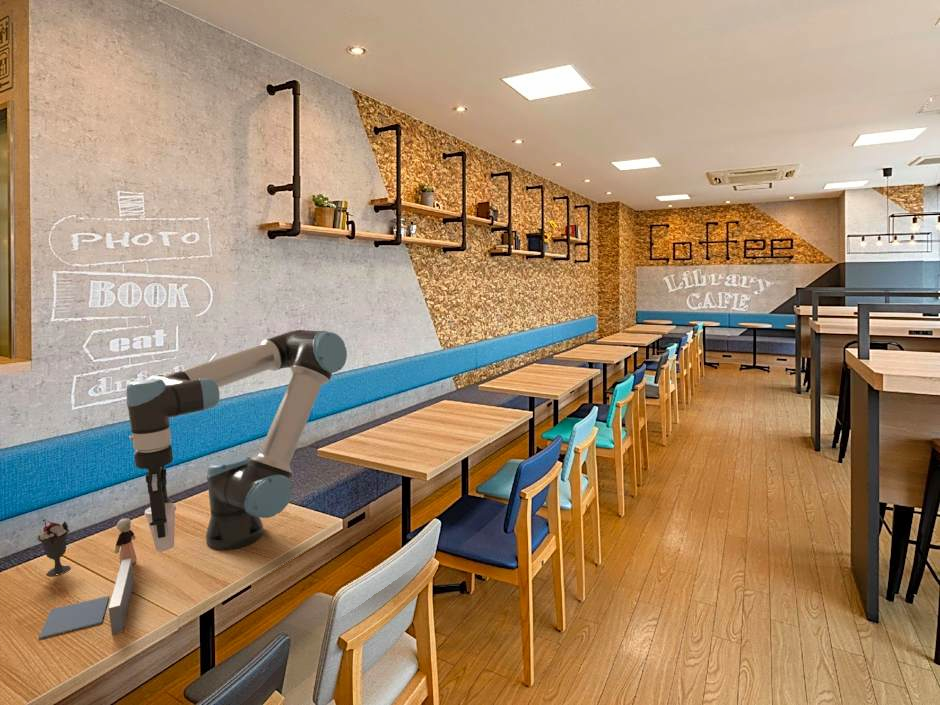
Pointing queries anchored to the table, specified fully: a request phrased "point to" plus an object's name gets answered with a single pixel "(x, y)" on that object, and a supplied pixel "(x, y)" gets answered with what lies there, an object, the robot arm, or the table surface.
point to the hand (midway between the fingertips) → (164, 542)
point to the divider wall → (121, 596)
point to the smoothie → (170, 518)
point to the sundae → (55, 544)
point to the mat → (74, 617)
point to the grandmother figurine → (125, 541)
